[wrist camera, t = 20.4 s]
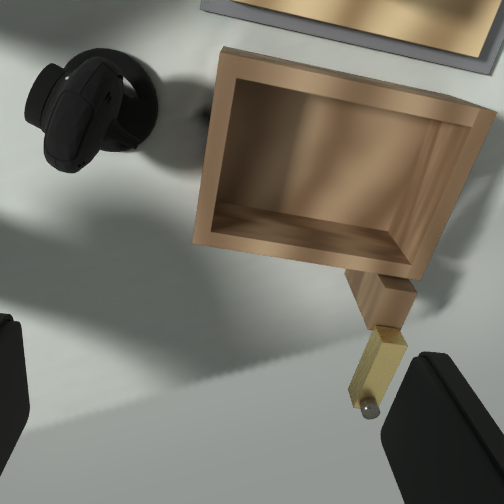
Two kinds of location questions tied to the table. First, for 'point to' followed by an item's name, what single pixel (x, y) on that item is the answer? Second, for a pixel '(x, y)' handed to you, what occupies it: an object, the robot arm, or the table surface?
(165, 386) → the table surface
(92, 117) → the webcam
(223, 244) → the open wooden box
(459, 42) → the lid
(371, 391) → the yellow bar with ball
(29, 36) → the table surface
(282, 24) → the mat
